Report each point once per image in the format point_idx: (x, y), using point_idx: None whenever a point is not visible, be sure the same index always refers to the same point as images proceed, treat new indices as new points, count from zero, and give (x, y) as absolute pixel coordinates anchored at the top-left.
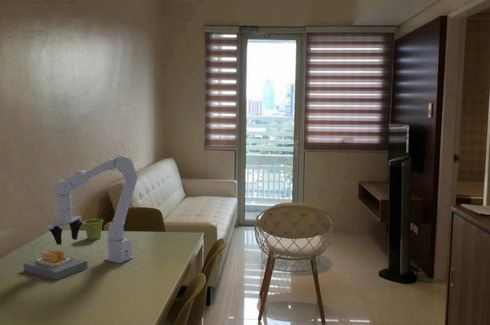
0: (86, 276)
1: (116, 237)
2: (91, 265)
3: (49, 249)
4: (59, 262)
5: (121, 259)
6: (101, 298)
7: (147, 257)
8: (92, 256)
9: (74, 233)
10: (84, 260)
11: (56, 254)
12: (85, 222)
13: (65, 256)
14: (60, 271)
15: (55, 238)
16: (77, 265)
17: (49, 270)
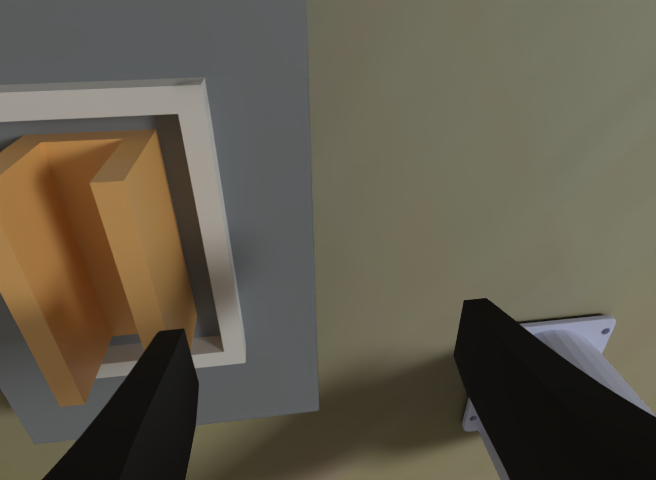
0: (222, 447)
1: None
2: (365, 345)
3: (94, 186)
4: (119, 366)
5: (483, 441)
6: None
7: None
8: (531, 202)
9: (506, 419)
10: (316, 394)
11: (83, 404)
12: None
13: (296, 201)
14: (75, 434)
15: (118, 417)
16: (230, 415)
17: (1, 390)
